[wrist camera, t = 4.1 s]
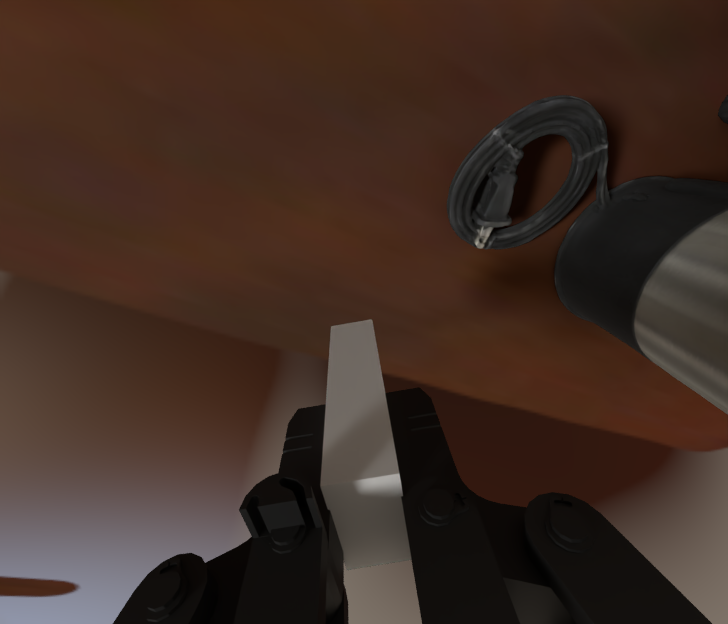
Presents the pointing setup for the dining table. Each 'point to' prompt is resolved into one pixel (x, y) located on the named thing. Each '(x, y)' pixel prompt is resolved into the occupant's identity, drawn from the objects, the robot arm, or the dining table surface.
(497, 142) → the milk frother
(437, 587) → the robot arm
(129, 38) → the dining table surface
